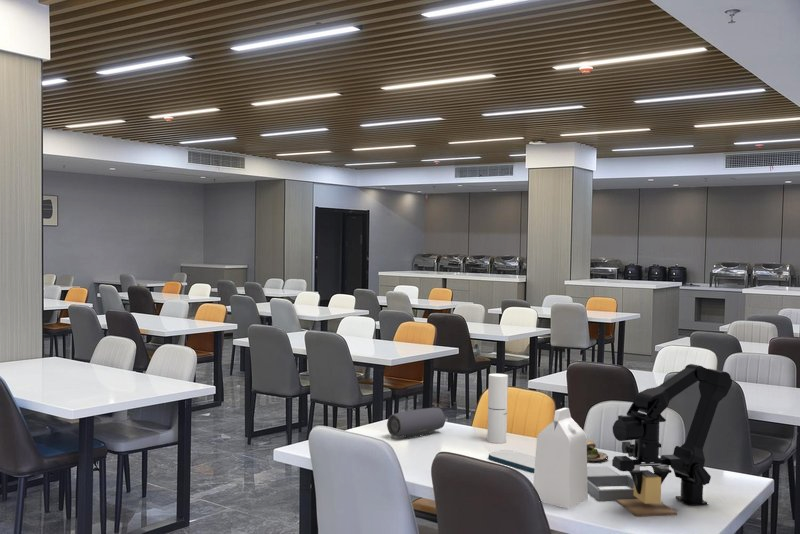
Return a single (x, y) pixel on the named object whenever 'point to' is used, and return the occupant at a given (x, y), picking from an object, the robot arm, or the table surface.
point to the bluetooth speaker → (415, 422)
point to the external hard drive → (514, 459)
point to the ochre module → (649, 488)
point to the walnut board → (646, 508)
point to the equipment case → (608, 484)
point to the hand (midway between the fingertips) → (646, 493)
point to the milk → (561, 462)
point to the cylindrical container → (497, 408)
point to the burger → (594, 453)
